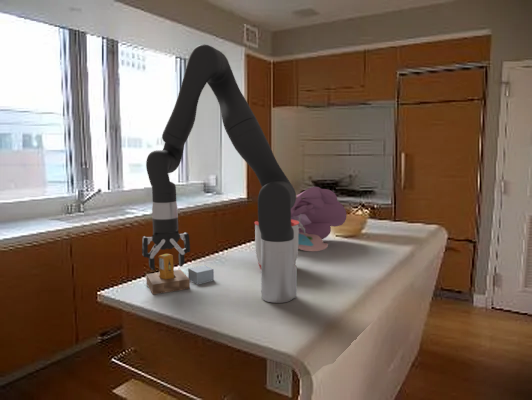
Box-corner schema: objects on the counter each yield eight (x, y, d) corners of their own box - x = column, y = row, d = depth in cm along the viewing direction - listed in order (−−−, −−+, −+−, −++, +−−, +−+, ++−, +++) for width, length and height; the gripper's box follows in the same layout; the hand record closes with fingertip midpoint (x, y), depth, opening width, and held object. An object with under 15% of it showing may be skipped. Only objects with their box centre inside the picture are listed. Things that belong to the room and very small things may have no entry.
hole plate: (181, 278, 133) (180, 269, 133) (189, 288, 123) (189, 279, 123) (146, 283, 128) (146, 274, 128) (153, 294, 119) (152, 284, 118)
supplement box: (168, 283, 128) (167, 252, 127) (174, 286, 126) (173, 254, 124) (159, 286, 126) (158, 254, 124) (165, 288, 123) (164, 256, 122)
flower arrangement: (304, 269, 159) (314, 201, 150) (256, 249, 172) (263, 186, 163) (342, 243, 187) (353, 185, 178) (299, 228, 199) (306, 172, 190)
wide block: (204, 276, 136) (204, 264, 135) (213, 281, 131) (213, 269, 130) (188, 280, 132) (188, 268, 132) (197, 284, 127) (196, 272, 127)
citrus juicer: (273, 259, 155) (272, 208, 152) (308, 269, 142) (308, 213, 140) (242, 268, 144) (241, 212, 141) (277, 279, 131) (277, 218, 129)
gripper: (143, 220, 117) (145, 274, 119) (191, 216, 123) (193, 268, 125) (139, 216, 123) (141, 267, 125) (185, 212, 129) (186, 262, 131)
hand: (167, 267), depth 125 cm, fingers open, 8 cm apart
